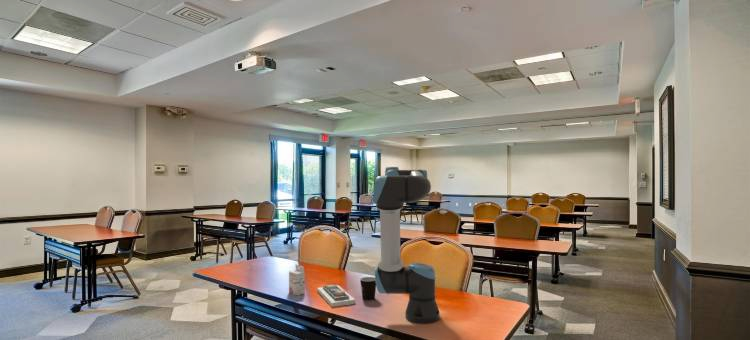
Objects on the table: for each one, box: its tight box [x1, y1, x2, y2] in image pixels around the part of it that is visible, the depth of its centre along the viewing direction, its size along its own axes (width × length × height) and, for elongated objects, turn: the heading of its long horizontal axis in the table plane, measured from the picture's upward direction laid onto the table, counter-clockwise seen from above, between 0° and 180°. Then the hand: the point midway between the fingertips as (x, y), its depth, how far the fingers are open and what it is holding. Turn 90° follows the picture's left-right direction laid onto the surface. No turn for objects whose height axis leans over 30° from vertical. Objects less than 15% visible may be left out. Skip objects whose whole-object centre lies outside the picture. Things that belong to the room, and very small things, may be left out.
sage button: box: [325, 284, 336, 289], centre depth 207 cm, size 5×5×2 cm
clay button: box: [335, 289, 346, 296], centre depth 193 cm, size 5×5×2 cm
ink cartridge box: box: [288, 264, 306, 296], centre depth 208 cm, size 9×5×15 cm, turn 47°
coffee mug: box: [359, 276, 377, 301], centre depth 199 cm, size 12×9×10 cm
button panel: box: [316, 284, 356, 308], centre depth 200 cm, size 28×12×3 cm, turn 23°
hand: (392, 237), depth 209 cm, fingers closed
